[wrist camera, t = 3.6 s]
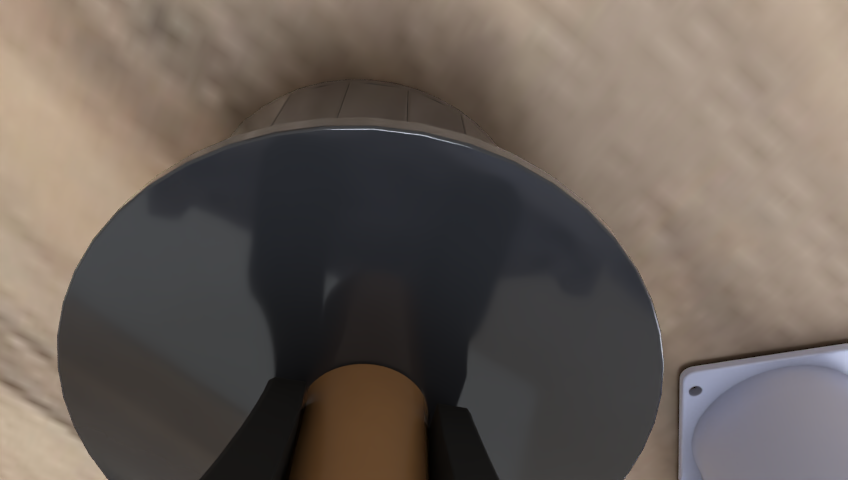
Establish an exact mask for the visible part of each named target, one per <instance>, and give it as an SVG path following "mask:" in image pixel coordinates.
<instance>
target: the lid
mask: <svg viewBox="0 0 848 480" xmlns="http://www.w3.org/2000/svg"><path fill="white" fill-rule="evenodd" d="M57 350H58V371H59V377H60V382H61V387H62V393H63V398H64V401H65V403H66V406H67V409H68V412H69V414H70V417H71V420H72V422H73V425H74V428H75V429H76V431H77V433H78V435H79V437H80V438H81V440H82V442H83V444H84V446H85V448H86V449H87V451H88V453H89V455H90V456H91V457H92V459H93V460H94V461H95V463H96V464H97V465H98V467H99V468H100V469H101V471H102V472H103V473H104V475H105V476H106V477H107V479H108V480H199V479H200V478H201V477H202V476H203V474H204V473H205V472H206V471H207V470H208V469H209V467H210V466H211V465H212V464H213V463H214V461H215V460H216V459H217V458H218V456H219V455H220V454H221V453H222V451H223V450H224V449H225V447H226V446H227V445H228V443H229V442H230V441H231V439H232V438H233V437H234V435H235V434H236V433H237V431H238V430H239V429H240V427H241V426H242V424H243V423H244V421H245V420H246V418H247V417H248V415H249V414H250V412H251V411H252V409H253V408H254V406H255V405H256V403H257V401H258V400H259V398H260V396H261V394H262V393H263V391H264V389H265V387H266V385H267V383H268V380H270V379H272V378H274V377H280V378H286V379H292V380H298V381H304V382H306V388H305V393H304V399H303V404H302V410H301V414H300V419H299V423H298V428H297V432H296V437H295V441H294V446H293V450H292V454H291V457H290V460H289V464H288V467H287V471H286V476H285V480H430V464H429V428H430V424H431V421H432V418H433V415H434V412H435V409H436V406H437V403H439V404H445V405H451V406H457V407H463V408H467V409H468V410H469V412H470V413H471V416H472V418H473V421H474V423H475V426H476V428H477V430H478V433H479V435H480V438H481V440H482V442H483V445H484V447H485V449H486V451H487V454H488V456H489V458H490V460H491V462H492V464H493V467H494V469H495V471H496V473H497V475H498V477H499V479H500V480H624V478H625V477H626V476H627V475H628V473H629V472H630V470H631V469H632V467H633V465H634V464H635V462H636V460H637V459H638V457H639V455H640V454H641V452H642V451H643V449H644V446H645V444H646V442H647V439H648V437H649V435H650V432H651V430H652V428H653V425H654V423H655V419H656V415H657V411H658V407H659V403H660V399H661V395H662V383H663V369H664V357H663V347H662V337H661V330H660V326H659V323H658V319H657V316H656V312H655V308H654V305H653V301H652V298H651V296H650V294H649V292H648V290H647V288H646V286H645V284H644V282H643V280H642V278H641V275H640V273H639V271H638V269H637V267H636V266H635V264H634V262H633V261H632V259H631V257H630V256H629V254H628V253H627V252H626V250H625V249H624V247H623V246H622V244H621V243H620V242H619V240H618V239H617V237H616V236H615V234H614V233H613V232H612V230H611V229H610V227H609V226H608V225H607V224H606V223H605V222H604V221H603V220H602V219H601V218H600V217H599V216H598V215H597V214H596V213H595V212H594V211H593V210H592V209H591V208H590V207H589V206H588V205H587V203H586V202H585V201H584V200H583V199H581V198H580V197H579V196H577V195H576V194H575V193H574V192H572V191H571V190H570V189H568V188H567V187H566V186H564V185H563V184H562V183H561V182H559V181H558V180H557V179H555V178H554V177H553V176H552V175H550V174H549V173H547V172H545V171H543V170H542V169H540V168H538V167H536V166H534V165H533V164H531V163H529V162H527V161H526V160H524V159H522V158H520V157H519V156H517V155H515V154H513V153H511V152H509V151H506V150H504V149H502V148H499V147H497V146H494V145H492V144H489V143H487V142H484V141H482V140H479V139H477V138H474V137H472V136H469V135H465V134H461V133H458V132H454V131H450V130H446V129H442V128H438V127H434V126H430V125H427V124H422V123H414V122H406V121H398V120H390V119H382V118H321V119H313V120H305V121H298V122H290V123H282V124H277V125H273V126H270V127H266V128H262V129H258V130H255V131H251V132H247V133H243V134H240V135H236V136H233V137H231V138H228V139H226V140H224V141H221V142H219V143H216V144H214V145H212V146H209V147H207V148H205V149H202V150H200V151H197V152H195V153H193V154H191V155H190V156H188V157H186V158H185V159H183V160H181V161H180V162H178V163H176V164H175V165H173V166H172V167H170V168H168V169H167V170H165V171H163V172H162V173H160V174H158V175H157V176H156V177H154V178H153V179H152V180H151V181H150V182H148V183H147V184H146V185H145V186H144V187H143V188H141V189H140V190H139V191H138V192H137V193H135V194H134V195H133V196H132V197H131V198H129V199H128V200H127V201H126V202H125V203H124V204H123V205H122V206H121V207H120V208H119V209H118V211H117V212H116V213H115V214H114V215H113V216H112V218H111V219H110V220H109V221H108V222H107V223H106V225H105V226H104V227H103V228H102V229H101V230H100V232H99V233H98V234H97V235H96V236H95V237H94V239H93V240H92V242H91V243H90V245H89V247H88V248H87V250H86V252H85V254H84V255H83V257H82V259H81V260H80V262H79V264H78V265H77V267H76V269H75V271H74V273H73V276H72V279H71V282H70V284H69V287H68V290H67V292H66V295H65V298H64V301H63V305H62V311H61V316H60V322H59V328H58V334H57Z"/></svg>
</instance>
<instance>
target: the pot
mask: <svg viewBox="0 0 848 480" xmlns="http://www.w3.org/2000/svg"><path fill="white" fill-rule="evenodd" d="M321 118H382V119H390V120H398V121H406V122H414V123H422V124H427V125H430V126H434V127H438V128H442V129H446V130H450V131H454V132H458V133H461V134H465V135H469V136H472V137H474V138H477V139H479V140H482V141H484V142H487V143H489V144H492V145H494V146H497V145H496V144H495V143H494V141H493V140H492V139H491V138H490V137H489V136H488V135H487V134H486V133H485V132H484V131H483V130H482V129H481V128H480V127H479V125H478V124H476V123H475V122H474V121H473V120H471V119H470V118H469V117H467V116H466V115H465V114H464V113H462V112H461V111H460V110H458V109H456V108H455V107H453V106H451V105H450V104H448V103H446V102H444V101H443V100H441V99H439V98H437V97H435V96H432V95H430V94H427V93H425V92H423V91H420V90H418V89H414V88H411V87H407V86H403V85H400V84H396V83H391V82H383V81H376V80H339V81H331V82H323V83H319V84H315V85H311V86H308V87H304V88H300V89H298V90H295V91H293V92H291V93H288V94H286V95H283V96H281V97H279V98H277V99H275V100H274V101H272V102H270V103H269V104H267V105H265V106H264V107H262V108H260V109H259V110H258V111H256V112H255V113H254V114H253V115H251V116H250V117H248V118H247V119H245V120H244V121H243V122H242V123H241V124H240V125H239V126H238V128H237V129H236V130H235V131H234V132H233V134H232V135H231V136H230V137H229V138H231V137H233V136H236V135H240V134H243V133H247V132H251V131H255V130H258V129H262V128H266V127H270V126H273V125H277V124H282V123H290V122H298V121H305V120H313V119H321Z"/></svg>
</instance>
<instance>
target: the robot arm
mask: <svg viewBox="0 0 848 480" xmlns="http://www.w3.org/2000/svg"><path fill="white" fill-rule="evenodd" d="M695 386H697V387H696V388H694V389H691V388H692V387H695ZM305 388H306V382H304V381H298V380H292V379H286V378H280V377H274V378H272V379H270V380H268V383H267V385H266V387H265V389H264V391H263V393H262V394H261V396H260V398H259V400H258V401H257V403H256V405H255V406H254V408H253V409H252V411H251V412H250V414H249V415H248V417H247V418H246V420H245V421H244V423H243V424H242V426H241V427H240V429H239V430H238V431H237V433H236V434H235V435H234V437H233V438H232V439H231V441H230V442H229V443H228V445H227V446H226V447H225V449H224V450H223V451H222V453H221V454H220V455H219V456H218V458H217V459H216V460H215V461H214V463H213V464H212V465H211V466H210V467H209V469H208V470H207V471H206V472H205V473H204V474H203V476H202V477H201V478H200V479H199V480H285V476H286V471H287V467H288V464H289V460H290V457H291V454H292V450H293V446H294V441H295V437H296V432H297V428H298V423H299V419H300V414H301V410H302V404H303V399H304V393H305ZM429 464H430V480H500V479H499V477H498V475H497V473H496V471H495V469H494V467H493V464H492V462H491V460H490V458H489V456H488V454H487V451H486V449H485V447H484V445H483V442H482V440H481V438H480V435H479V433H478V430H477V428H476V426H475V423H474V421H473V418H472V416H471V413H470V412H469V410H468V409H467V408H463V407H457V406H451V405H445V404H439V403H437V406H436V409H435V412H434V415H433V418H432V421H431V424H430V428H429ZM678 480H848V343H845V344H838V345H831V346H825V347H818V348H812V349H805V350H798V351H792V352H785V353H778V354H772V355H765V356H758V357H752V358H745V359H738V360H732V361H725V362H718V363H712V364H705V365H698V366H692V367H689V368H687V369H685V370H684V371H683V372H682V373H681V375H680V392H679V472H678Z"/></svg>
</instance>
